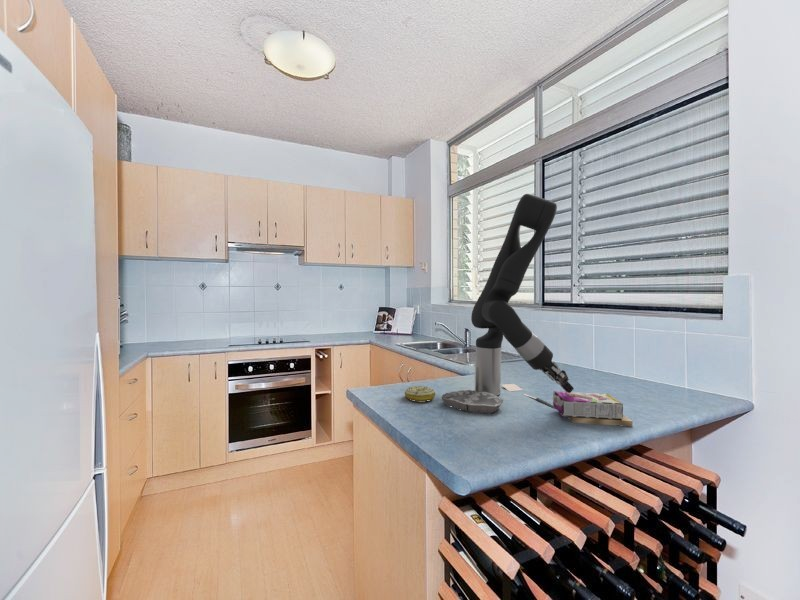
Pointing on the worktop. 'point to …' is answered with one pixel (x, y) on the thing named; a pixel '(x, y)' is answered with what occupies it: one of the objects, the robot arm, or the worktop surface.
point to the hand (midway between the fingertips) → (570, 390)
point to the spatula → (515, 388)
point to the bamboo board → (602, 421)
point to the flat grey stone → (472, 401)
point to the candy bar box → (587, 405)
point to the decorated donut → (420, 393)
